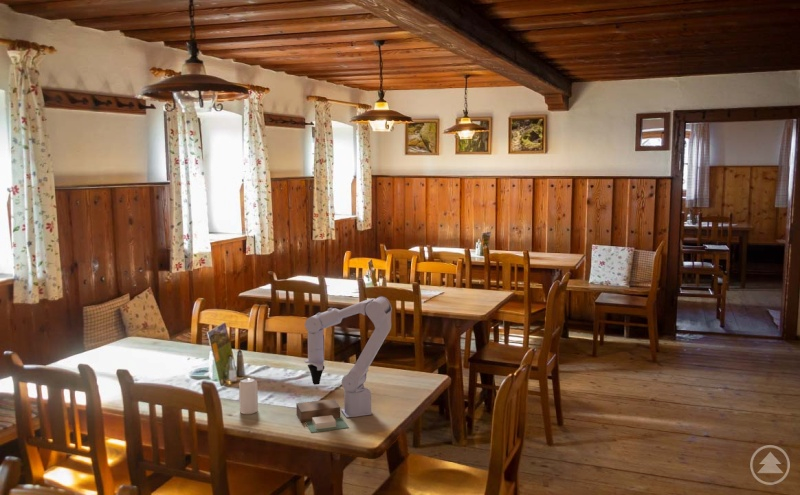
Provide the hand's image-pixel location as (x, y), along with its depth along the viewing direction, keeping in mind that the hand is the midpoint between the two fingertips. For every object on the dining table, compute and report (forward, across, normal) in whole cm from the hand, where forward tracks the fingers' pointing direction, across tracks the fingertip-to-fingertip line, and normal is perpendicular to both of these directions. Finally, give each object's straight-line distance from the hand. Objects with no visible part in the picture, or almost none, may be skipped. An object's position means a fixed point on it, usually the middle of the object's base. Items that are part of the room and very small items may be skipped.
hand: (316, 384), depth 245 cm
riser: (+9, +7, -1) cm, 12 cm away
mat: (+9, +17, 0) cm, 19 cm away
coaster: (+7, +17, -1) cm, 18 cm away
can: (+10, -5, -24) cm, 26 cm away
